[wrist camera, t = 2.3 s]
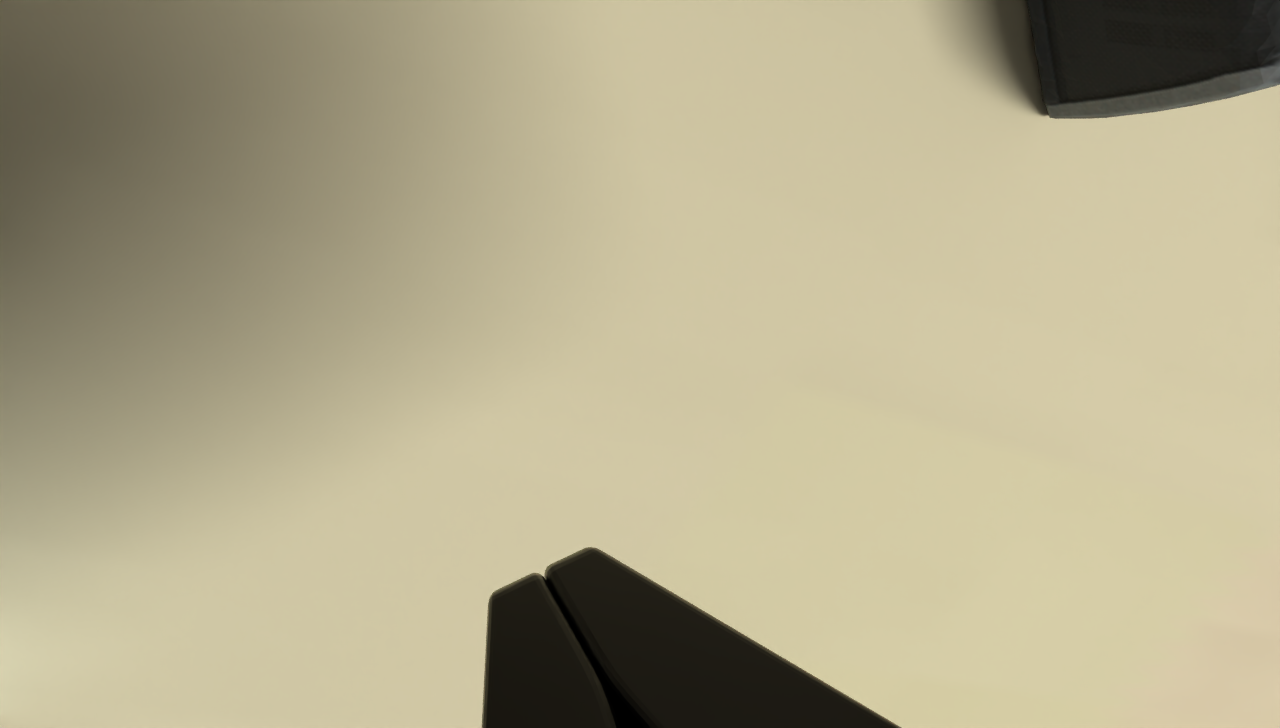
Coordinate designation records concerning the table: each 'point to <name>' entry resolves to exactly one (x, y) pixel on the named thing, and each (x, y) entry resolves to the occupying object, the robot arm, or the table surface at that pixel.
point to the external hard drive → (1152, 53)
